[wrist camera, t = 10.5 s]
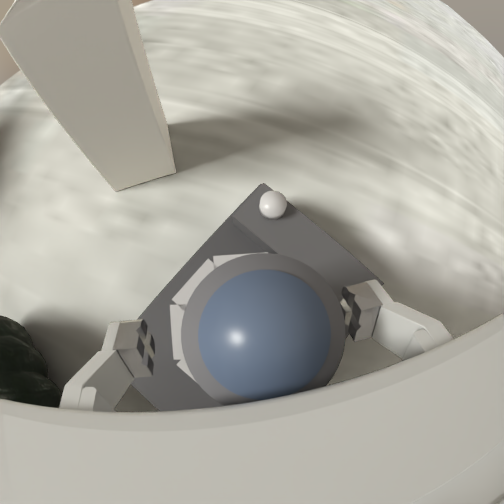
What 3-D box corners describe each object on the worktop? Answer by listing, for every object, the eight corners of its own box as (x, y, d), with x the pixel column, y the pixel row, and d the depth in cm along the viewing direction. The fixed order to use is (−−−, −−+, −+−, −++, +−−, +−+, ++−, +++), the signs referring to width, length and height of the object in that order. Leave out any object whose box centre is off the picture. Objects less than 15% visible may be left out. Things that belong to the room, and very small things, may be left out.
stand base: (232, 442, 19) (230, 480, 13) (126, 352, 20) (89, 361, 14) (359, 291, 22) (398, 280, 16) (257, 205, 23) (263, 167, 17)
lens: (255, 380, 16) (275, 448, 7) (195, 331, 17) (142, 341, 7) (304, 322, 17) (380, 320, 8) (246, 273, 18) (255, 214, 8)
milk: (167, 124, 25) (116, -88, 4) (177, 174, 24) (101, -84, 3) (111, 143, 25) (17, -43, 3) (113, 194, 23) (-28, -11, 2)
